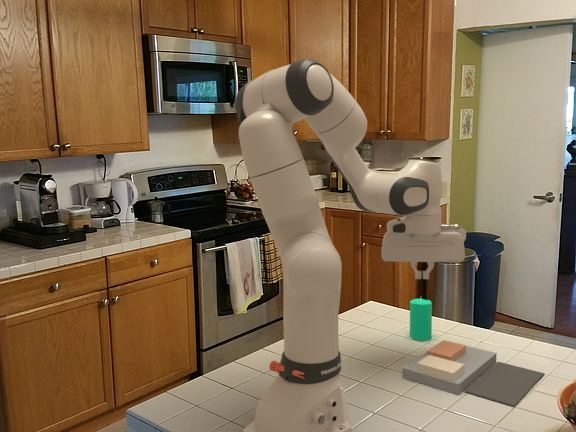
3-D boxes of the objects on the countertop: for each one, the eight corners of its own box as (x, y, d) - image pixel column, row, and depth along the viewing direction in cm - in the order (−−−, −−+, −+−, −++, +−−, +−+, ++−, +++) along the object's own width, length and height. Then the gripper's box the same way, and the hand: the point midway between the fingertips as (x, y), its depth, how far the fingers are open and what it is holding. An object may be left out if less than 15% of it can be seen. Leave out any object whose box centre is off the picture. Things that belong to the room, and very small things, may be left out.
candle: (426, 343, 156) (426, 300, 155) (406, 338, 160) (406, 297, 158) (435, 336, 161) (435, 295, 159) (415, 332, 165) (415, 292, 163)
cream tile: (464, 372, 132) (464, 364, 131) (453, 381, 127) (453, 373, 127) (428, 362, 138) (428, 354, 137) (416, 371, 133) (416, 363, 133)
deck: (458, 394, 126) (458, 384, 126) (402, 377, 135) (402, 367, 135) (496, 362, 143) (496, 353, 142) (444, 349, 152) (444, 340, 151)
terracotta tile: (450, 364, 136) (450, 356, 136) (427, 358, 140) (427, 350, 140) (465, 352, 143) (466, 345, 142) (443, 347, 147) (443, 339, 146)
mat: (514, 407, 120) (514, 405, 120) (464, 392, 127) (464, 390, 127) (544, 374, 135) (544, 373, 135) (498, 363, 142) (498, 361, 142)
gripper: (464, 222, 142) (462, 276, 145) (381, 222, 145) (381, 274, 148) (468, 226, 136) (466, 282, 138) (381, 226, 139) (381, 281, 141)
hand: (422, 278), depth 143 cm, fingers closed
